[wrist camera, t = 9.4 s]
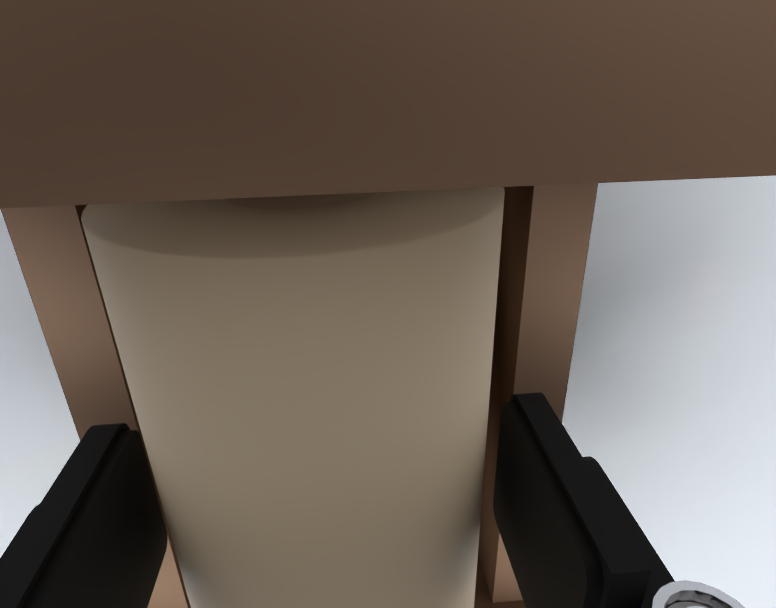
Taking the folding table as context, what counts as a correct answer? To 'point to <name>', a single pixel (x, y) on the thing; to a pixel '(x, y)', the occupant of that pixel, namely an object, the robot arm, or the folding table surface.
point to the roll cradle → (367, 147)
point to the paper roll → (311, 387)
